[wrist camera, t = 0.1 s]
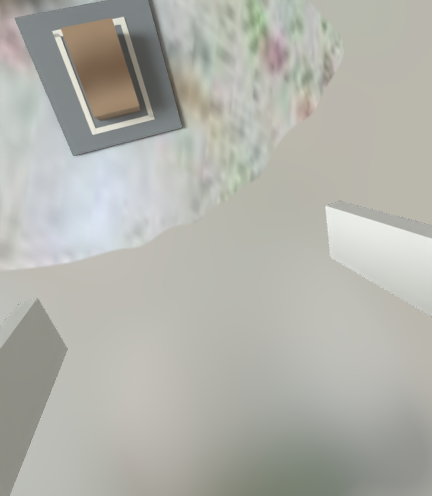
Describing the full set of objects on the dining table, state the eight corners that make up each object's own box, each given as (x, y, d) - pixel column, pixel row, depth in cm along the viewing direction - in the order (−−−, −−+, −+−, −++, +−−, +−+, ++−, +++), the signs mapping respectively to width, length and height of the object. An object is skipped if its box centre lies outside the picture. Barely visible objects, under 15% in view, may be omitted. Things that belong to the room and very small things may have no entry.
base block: (70, 42, 30) (60, 27, 26) (115, 33, 31) (111, 17, 27) (99, 120, 33) (94, 117, 30) (140, 110, 34) (139, 106, 30)
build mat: (16, 20, 29) (13, 17, 28) (146, -5, 31) (146, -8, 30) (74, 155, 34) (72, 155, 34) (181, 127, 36) (182, 127, 35)
